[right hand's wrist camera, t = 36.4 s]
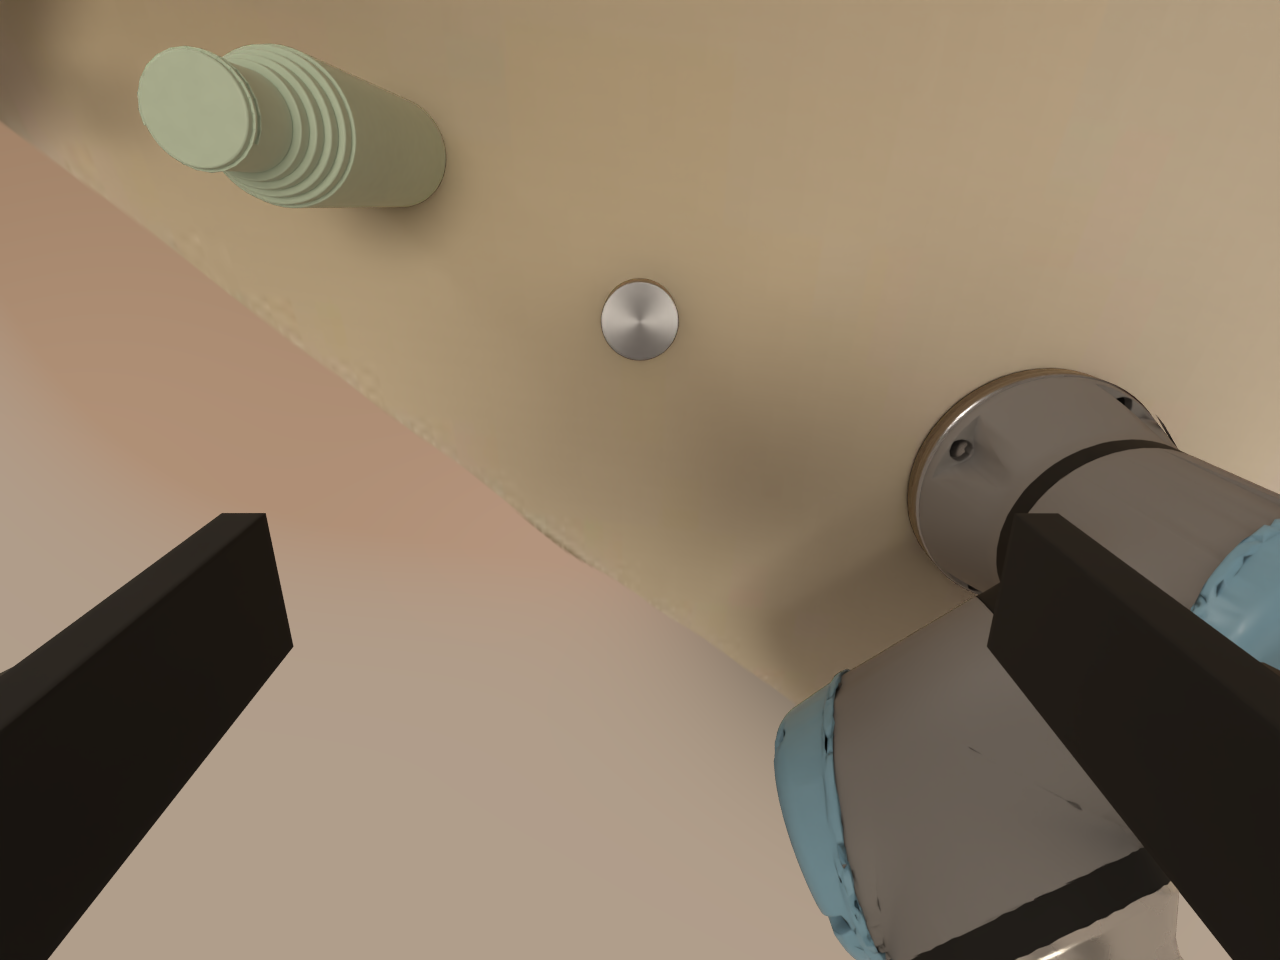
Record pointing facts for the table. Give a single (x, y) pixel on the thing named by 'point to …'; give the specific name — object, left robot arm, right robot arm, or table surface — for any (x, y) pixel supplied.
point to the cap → (639, 319)
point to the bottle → (291, 128)
